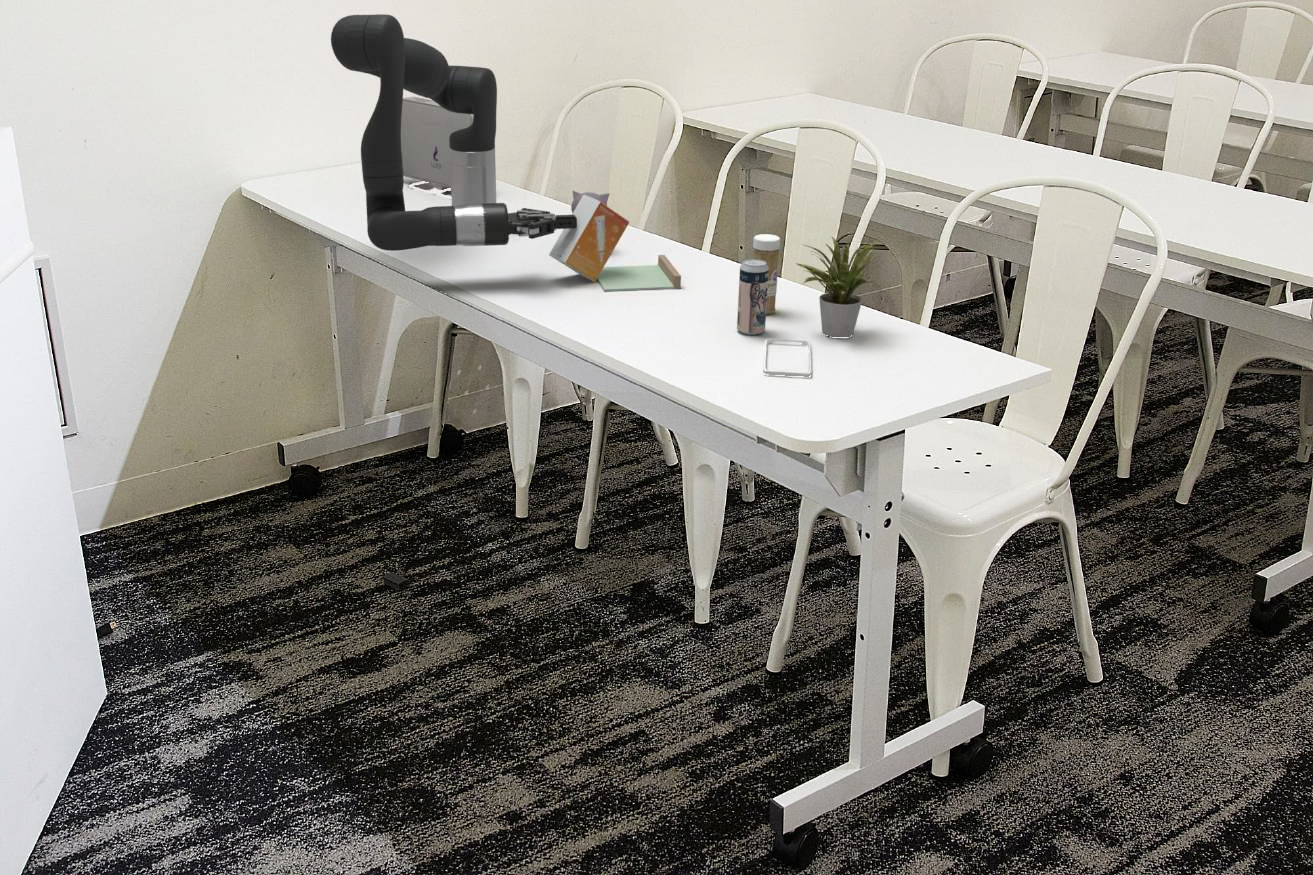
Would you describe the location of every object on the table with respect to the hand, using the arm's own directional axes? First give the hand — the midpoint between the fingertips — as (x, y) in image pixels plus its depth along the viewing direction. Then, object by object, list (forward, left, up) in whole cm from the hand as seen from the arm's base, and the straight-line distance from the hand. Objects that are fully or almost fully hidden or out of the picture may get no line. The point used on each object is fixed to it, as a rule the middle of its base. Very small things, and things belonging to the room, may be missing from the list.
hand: (576, 221), depth 240 cm
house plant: (+34, +40, -12) cm, 53 cm away
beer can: (+32, +25, -12) cm, 42 cm away
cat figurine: (-19, +6, -12) cm, 23 cm away
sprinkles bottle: (+22, +30, -12) cm, 39 cm away
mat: (0, +11, -11) cm, 15 cm away
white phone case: (+46, +27, -12) cm, 55 cm away
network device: (-74, -19, -12) cm, 78 cm away
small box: (0, -1, -9) cm, 9 cm away
